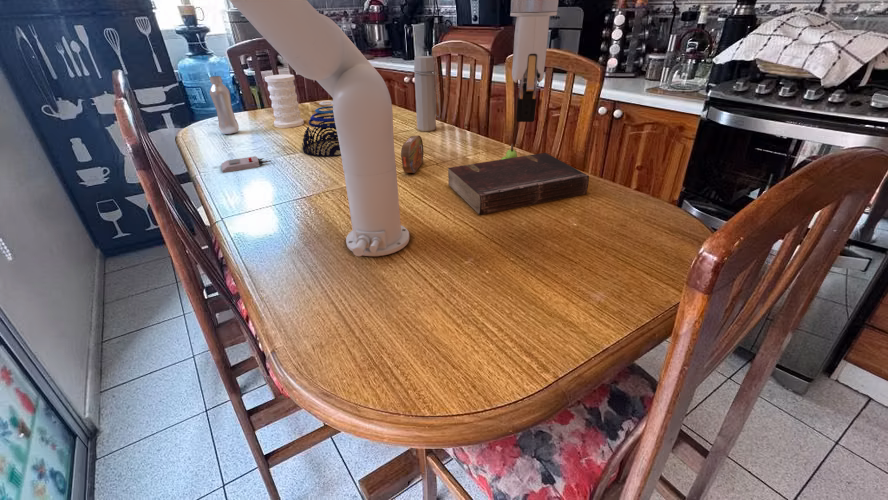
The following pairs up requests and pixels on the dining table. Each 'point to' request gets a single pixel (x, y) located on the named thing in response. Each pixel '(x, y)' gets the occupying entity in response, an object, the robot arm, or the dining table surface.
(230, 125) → the plastic bottle
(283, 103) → the decorative container
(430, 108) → the water bottle
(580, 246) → the dining table surface
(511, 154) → the grapes
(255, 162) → the moisture meter
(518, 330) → the dining table surface
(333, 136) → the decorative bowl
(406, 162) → the tin
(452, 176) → the hardback book
